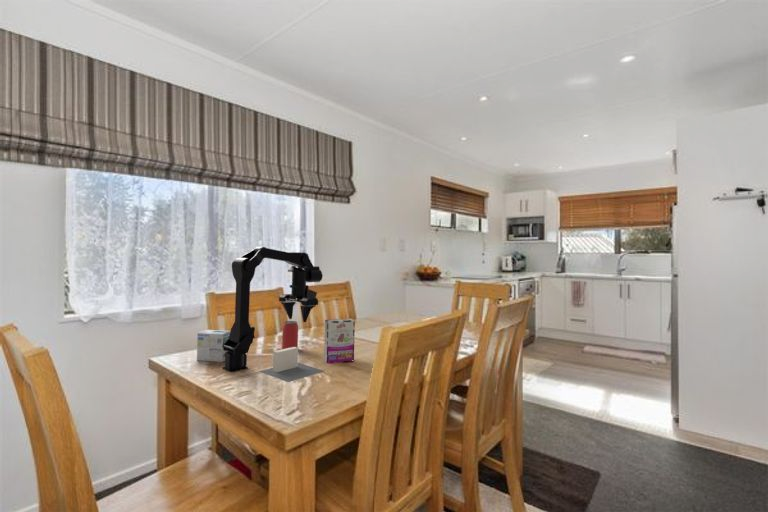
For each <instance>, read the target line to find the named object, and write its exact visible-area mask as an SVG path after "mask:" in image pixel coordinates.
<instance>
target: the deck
mask: <svg viewBox="0 0 768 512" xmlns="http://www.w3.org/2000/svg"><path fill="white" fill-rule="evenodd" d="M298 363H299V347H298V348H297V347H291V348H286V349H282V348H281V349H279V350H274V351H273V364H272V368H273V371H275V372H280V371H284V370H287V369H291V368H295V367H298Z"/></svg>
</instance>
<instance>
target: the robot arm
mask: <svg viewBox="0 0 768 512" xmlns="http://www.w3.org/2000/svg"><path fill="white" fill-rule="evenodd" d="M264 259H268V260H269V259H270V260H275V261H281V262H285V263H287V265H288V264H289V265H291V266H290V268H288V269H287V272H289V273H291V274H292V275H291V284H289V288H290V289H291V293H284V294H280V295H279V296H278V301H279V302H280V304H282V307H283V309H284V310H285V313H286V315H287V317H288V319H289V320H292V319H293V316H294V315H293V312H294V306H295V305H296V303H300V304H301V305H300V311H301V316H302V323H307V320H308V318H309V315H310V312H311V311H312V309H313V308H315V307H317V306H319V299H318V298H317V294H318V292H316V291H315V290H312V289H310V287H309V285H307V283H320V282H321V281H322V279H323V275H324V274H323V271H322V269H321V268H320V266H316V265H313V262H312V261H311V258H310V256H309V253H307V252H297V251H295V252H293V251H291V252H288V251H283V250H278V249H271V248H267V247H266V246H256V247H255V248H253V249H252V250H250V251H249V252H247V253H245V254H243V255H242V256H240V257H237V258H235V259H234V260H233V261H232V263H231V272H232V276H233V278H234V281H235V299H234V300H235V302H234V304H235V307H234V323H233V324H232V327H231V328H230V330H229V331H230V336H229V338H228V339H227V341H226V342H225V343H224V344H223V345H222V347H223V350H224V351H227V352H225V361H224V366H222V369H223V370H225V371H227V372H229V373H235V372H239V371H242V370H247V369H249V367H248V366H247V361H248V359H247V358H248V356H247V354H248V352H249V351H250V347H251V345H252V344H253V343H254V339H256V337H255V330H256V329H255V326H252V325H251V324H250V299H251V298H250V296H251V293H250V292H251V282H252V280H253V279H254V277H255V274H256V273H255V272H256V268H257V267H259V266H260V265H261V263H262V262H263V261H264Z"/></svg>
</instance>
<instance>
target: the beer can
mask: <svg viewBox="0 0 768 512" xmlns="http://www.w3.org/2000/svg"><path fill="white" fill-rule="evenodd" d="M281 334H282V337H281V338H282V339H281V350H282V349H286V348H291V347H297V348H298V349H299V347H298V346H299V345H298V344H299V342H298V341H299V325H298V322H297V321H296V320H288V321H283V325H282V333H281Z"/></svg>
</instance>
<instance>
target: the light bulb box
mask: <svg viewBox="0 0 768 512" xmlns="http://www.w3.org/2000/svg"><path fill="white" fill-rule="evenodd" d="M230 331H231V330H222V329H221V330H218V329H217V330H216V329H215V330H213V329H204V330H201V331H198V332H197V334H196V335H197V337H196V338H197V340H196V342H197V343H196V347H197V349H196V361H202V362H218V363H219V362H220V363H223V362H225V352H227V351H224V350H223V347H222V345H223V344H224V343H225V342H226V341H227V339H228V338H229V336H230Z"/></svg>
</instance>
